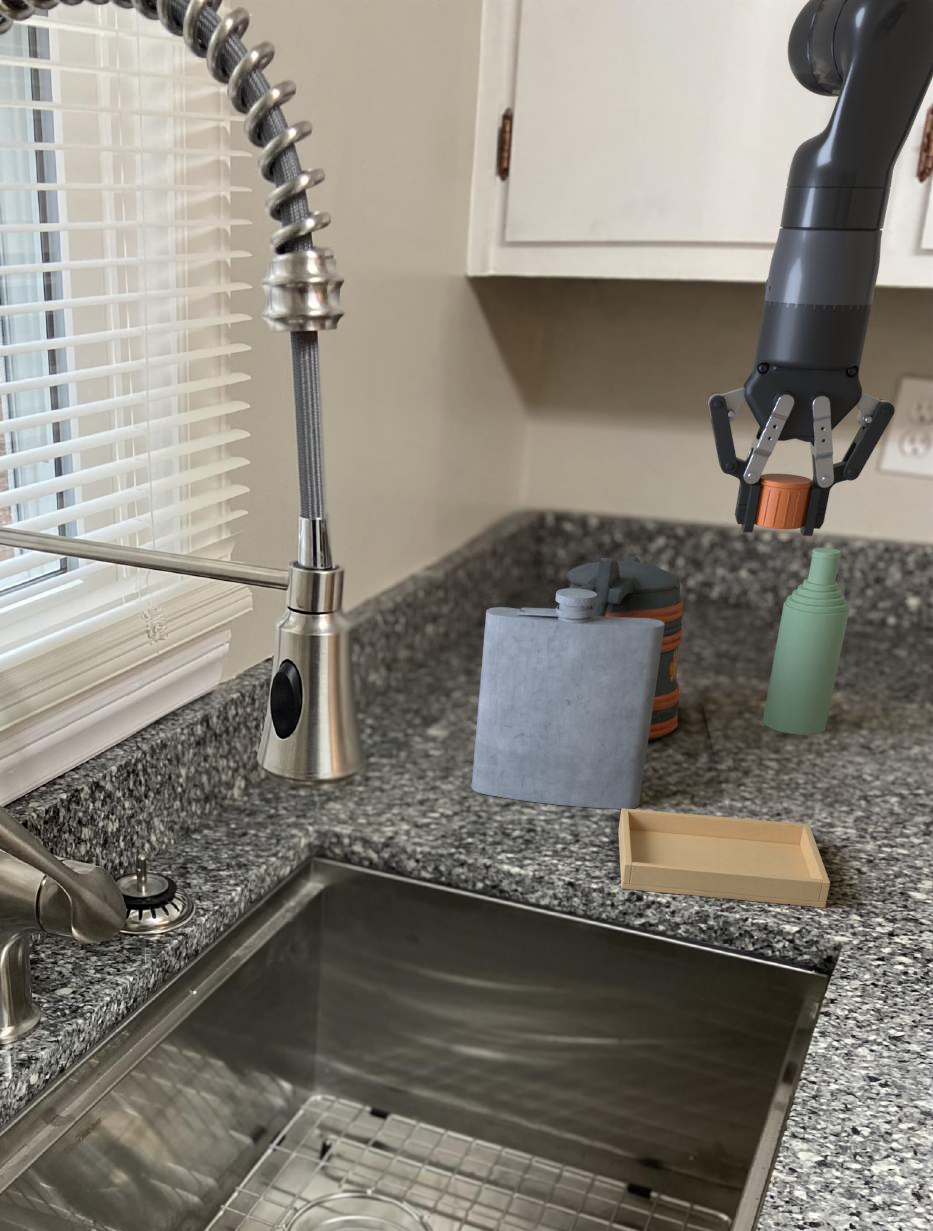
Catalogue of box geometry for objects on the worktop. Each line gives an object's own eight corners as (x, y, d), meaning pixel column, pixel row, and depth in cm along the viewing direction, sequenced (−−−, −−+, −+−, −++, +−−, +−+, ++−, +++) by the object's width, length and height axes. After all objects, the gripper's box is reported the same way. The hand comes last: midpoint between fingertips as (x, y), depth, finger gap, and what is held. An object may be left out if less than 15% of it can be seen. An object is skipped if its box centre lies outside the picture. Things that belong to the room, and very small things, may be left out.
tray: (804, 847, 126) (809, 823, 125) (825, 908, 115) (830, 882, 114) (618, 831, 128) (621, 808, 127) (621, 888, 118) (624, 863, 117)
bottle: (819, 727, 154) (855, 545, 145) (827, 746, 149) (865, 559, 140) (758, 722, 155) (790, 542, 147) (763, 741, 150) (797, 555, 141)
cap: (762, 529, 110) (771, 483, 108) (742, 517, 113) (750, 473, 112) (812, 529, 110) (821, 484, 108) (790, 518, 114) (799, 473, 112)
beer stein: (662, 768, 143) (691, 570, 134) (518, 748, 147) (537, 556, 138) (683, 711, 159) (711, 531, 149) (553, 695, 163) (572, 519, 154)
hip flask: (639, 798, 135) (668, 592, 126) (638, 814, 132) (668, 603, 123) (473, 781, 139) (490, 579, 130) (468, 796, 136) (485, 589, 127)
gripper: (722, 297, 102) (686, 537, 110) (931, 303, 99) (879, 548, 107) (714, 291, 109) (681, 518, 116) (911, 296, 106) (863, 528, 114)
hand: (776, 531), depth 112 cm, fingers closed on cap, 4 cm apart
